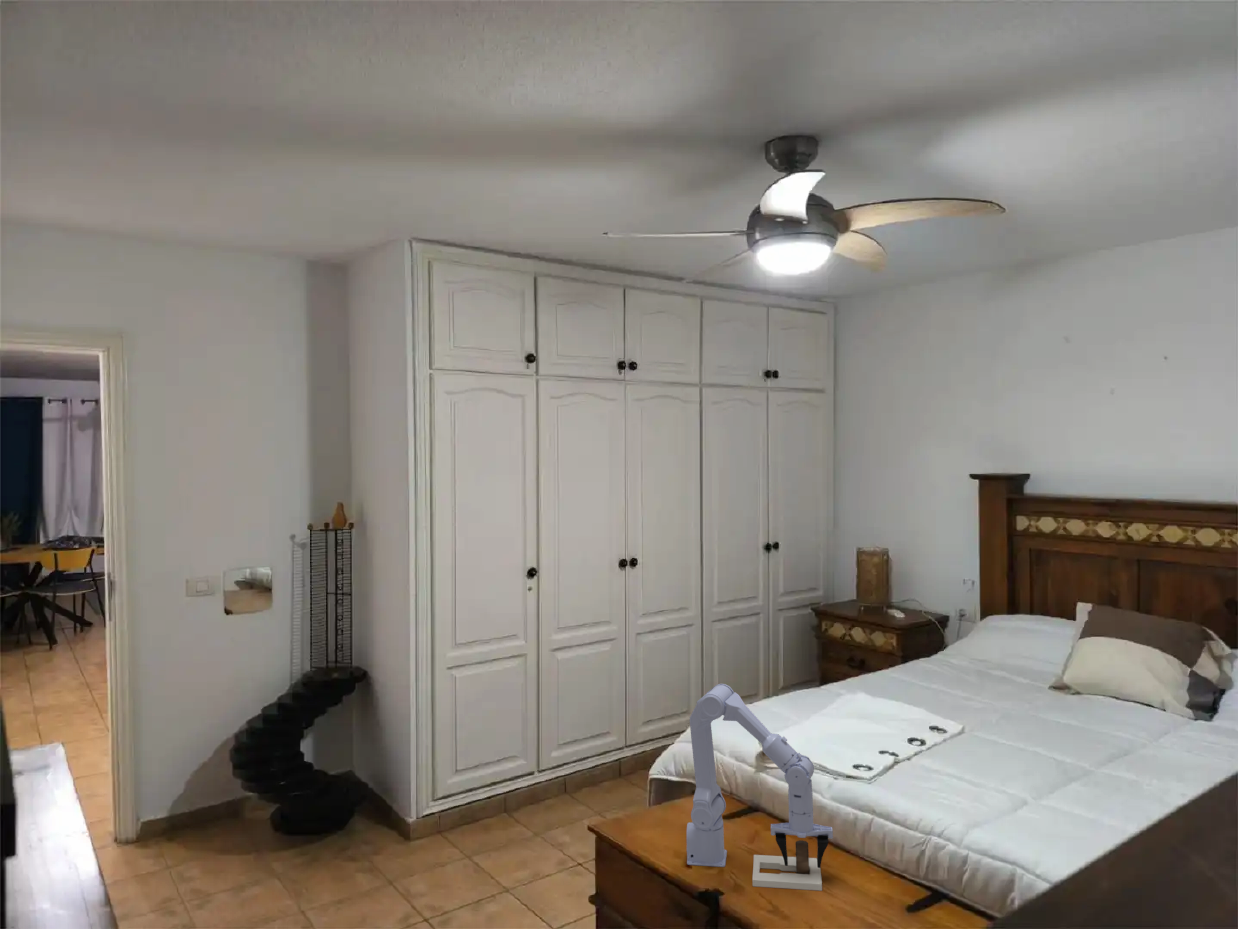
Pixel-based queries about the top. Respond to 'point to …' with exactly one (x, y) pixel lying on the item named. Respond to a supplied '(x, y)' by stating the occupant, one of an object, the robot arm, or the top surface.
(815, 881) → the keyhole plate
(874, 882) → the top surface
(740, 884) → the top surface
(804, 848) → the peg
